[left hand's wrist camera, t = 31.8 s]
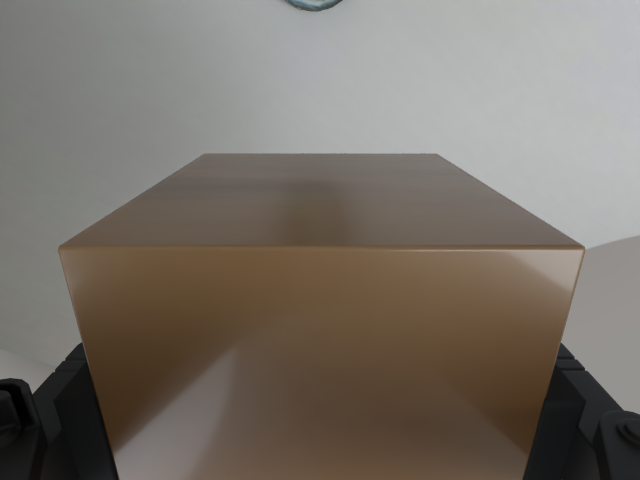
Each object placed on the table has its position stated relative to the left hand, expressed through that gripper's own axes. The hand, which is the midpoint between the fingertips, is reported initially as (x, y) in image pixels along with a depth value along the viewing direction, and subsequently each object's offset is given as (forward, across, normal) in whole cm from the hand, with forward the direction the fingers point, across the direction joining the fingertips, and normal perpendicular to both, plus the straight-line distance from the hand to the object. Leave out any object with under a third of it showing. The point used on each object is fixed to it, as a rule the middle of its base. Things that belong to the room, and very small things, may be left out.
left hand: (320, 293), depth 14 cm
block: (+2, 0, 0) cm, 2 cm away
